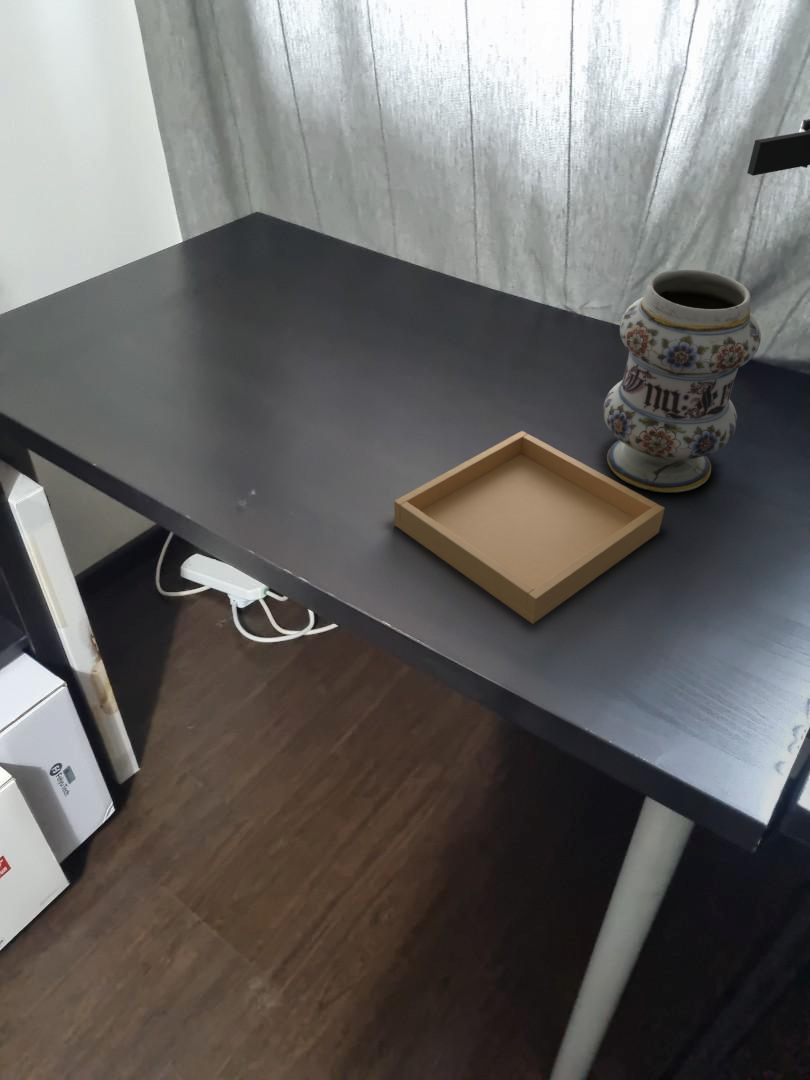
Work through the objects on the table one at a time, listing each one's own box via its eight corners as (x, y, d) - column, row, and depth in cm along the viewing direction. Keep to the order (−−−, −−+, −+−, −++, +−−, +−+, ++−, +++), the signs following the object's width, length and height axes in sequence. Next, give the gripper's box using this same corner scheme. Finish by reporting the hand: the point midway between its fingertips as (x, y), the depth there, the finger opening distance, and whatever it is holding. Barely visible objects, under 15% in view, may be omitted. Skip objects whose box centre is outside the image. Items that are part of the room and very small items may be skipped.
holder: (659, 532, 73) (664, 507, 71) (532, 624, 65) (535, 599, 63) (519, 454, 83) (522, 430, 81) (394, 525, 74) (393, 500, 73)
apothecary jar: (749, 483, 78) (805, 303, 67) (641, 514, 75) (681, 331, 63) (672, 420, 87) (711, 251, 75) (572, 445, 84) (596, 272, 72)
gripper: (1121, 241, 66) (913, 292, 60) (881, 148, 83) (703, 181, 77) (1179, 140, 60) (957, 186, 55) (910, 64, 78) (722, 93, 72)
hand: (808, 183), depth 66 cm, fingers open, 13 cm apart
